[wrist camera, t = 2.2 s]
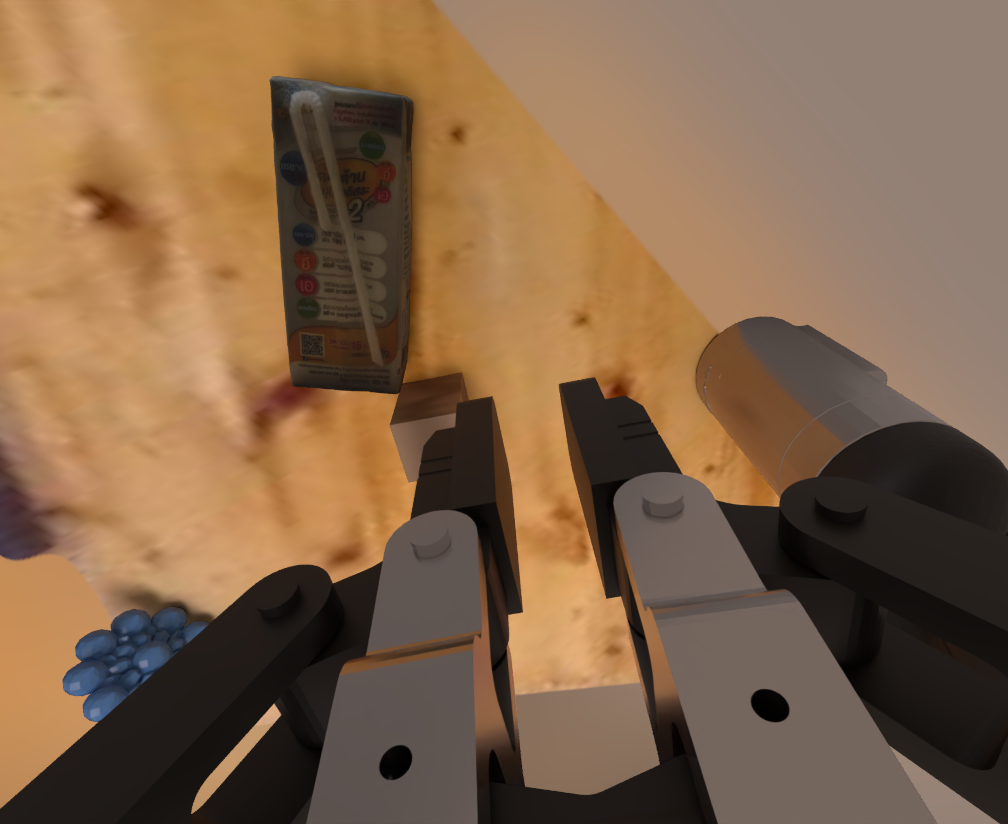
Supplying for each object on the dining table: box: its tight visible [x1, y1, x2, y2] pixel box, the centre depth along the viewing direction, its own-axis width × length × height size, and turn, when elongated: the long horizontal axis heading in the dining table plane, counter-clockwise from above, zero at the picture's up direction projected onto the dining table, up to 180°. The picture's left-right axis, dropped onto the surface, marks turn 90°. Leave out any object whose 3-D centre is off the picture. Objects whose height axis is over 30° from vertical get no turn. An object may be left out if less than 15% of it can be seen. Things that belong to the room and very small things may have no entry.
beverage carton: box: [270, 76, 413, 394], centre depth 36 cm, size 8×19×7 cm, turn 174°
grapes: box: [63, 607, 209, 722], centre depth 50 cm, size 12×7×12 cm, turn 52°
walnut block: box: [390, 373, 469, 482], centre depth 42 cm, size 5×5×7 cm
